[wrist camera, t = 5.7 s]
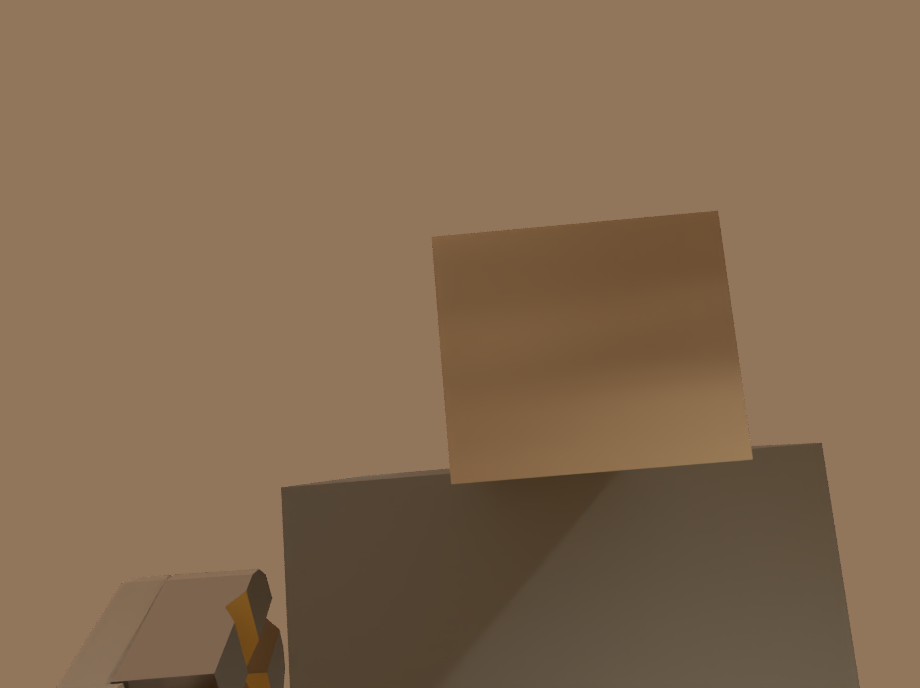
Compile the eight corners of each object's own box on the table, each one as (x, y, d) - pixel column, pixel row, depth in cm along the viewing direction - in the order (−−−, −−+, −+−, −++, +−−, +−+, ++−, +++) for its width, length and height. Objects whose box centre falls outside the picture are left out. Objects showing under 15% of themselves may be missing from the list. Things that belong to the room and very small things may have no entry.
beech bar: (478, 466, 27) (471, 385, 28) (573, 458, 27) (565, 377, 28) (451, 484, 9) (431, 237, 9) (753, 459, 9) (718, 210, 9)
